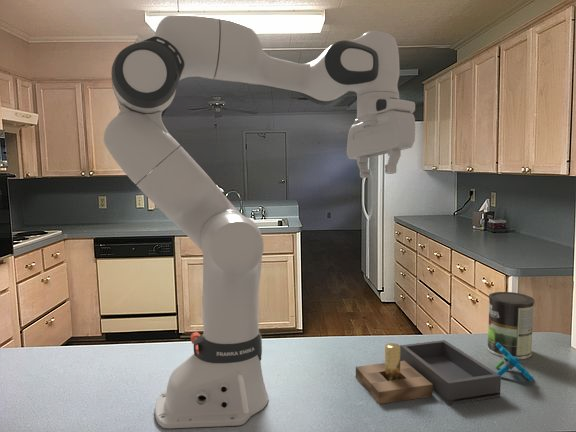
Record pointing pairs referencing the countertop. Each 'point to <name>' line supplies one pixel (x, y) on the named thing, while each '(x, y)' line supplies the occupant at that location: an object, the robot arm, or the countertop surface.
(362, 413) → the countertop surface
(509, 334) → the coffee can
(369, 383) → the block
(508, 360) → the blue notched toy part
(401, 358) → the tray
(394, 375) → the pin
